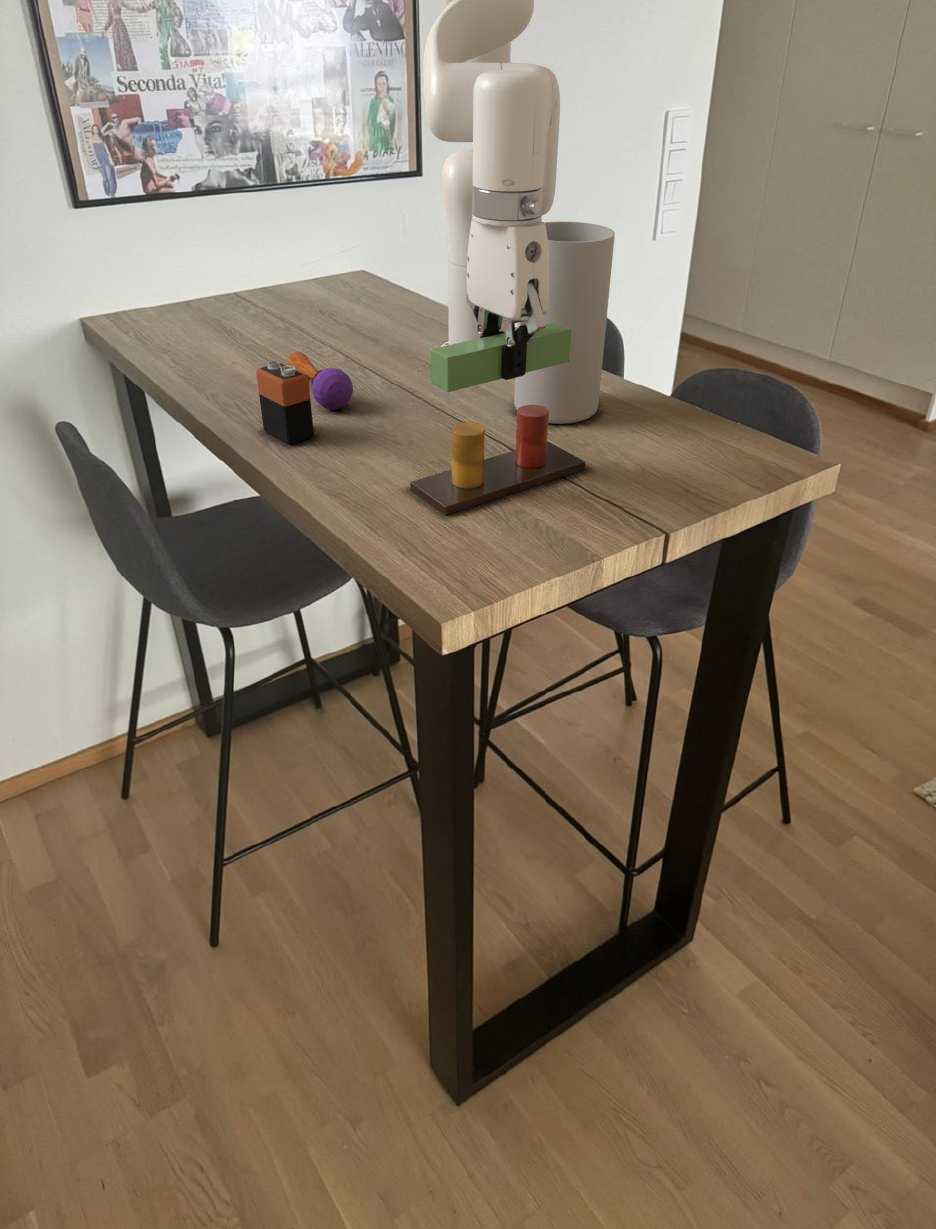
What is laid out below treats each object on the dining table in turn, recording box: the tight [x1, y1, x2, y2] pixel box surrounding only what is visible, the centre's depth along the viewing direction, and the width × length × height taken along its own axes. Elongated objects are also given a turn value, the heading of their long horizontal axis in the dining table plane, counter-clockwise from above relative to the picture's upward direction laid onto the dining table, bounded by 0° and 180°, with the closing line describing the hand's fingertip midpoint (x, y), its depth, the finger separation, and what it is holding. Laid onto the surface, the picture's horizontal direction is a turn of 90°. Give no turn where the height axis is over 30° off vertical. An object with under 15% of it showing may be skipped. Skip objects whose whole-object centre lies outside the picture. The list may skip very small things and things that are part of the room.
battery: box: [255, 360, 315, 445], centre depth 123 cm, size 4×7×10 cm, turn 43°
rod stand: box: [409, 405, 586, 516], centre depth 112 cm, size 22×8×8 cm, turn 125°
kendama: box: [287, 351, 354, 411], centre depth 137 cm, size 6×6×20 cm
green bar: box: [430, 323, 571, 393], centre depth 105 cm, size 18×4×4 cm, turn 125°
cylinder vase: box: [513, 220, 616, 425], centre depth 127 cm, size 12×12×25 cm
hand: (502, 370), depth 106 cm, fingers closed on green bar, 3 cm apart
